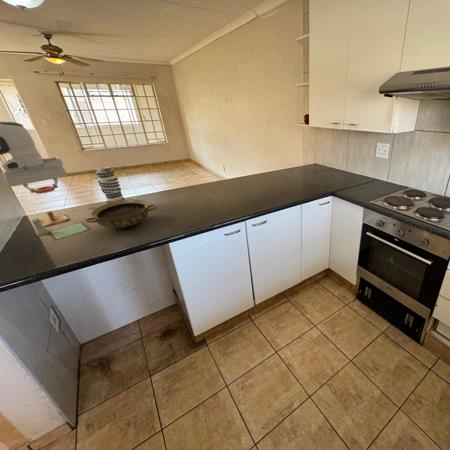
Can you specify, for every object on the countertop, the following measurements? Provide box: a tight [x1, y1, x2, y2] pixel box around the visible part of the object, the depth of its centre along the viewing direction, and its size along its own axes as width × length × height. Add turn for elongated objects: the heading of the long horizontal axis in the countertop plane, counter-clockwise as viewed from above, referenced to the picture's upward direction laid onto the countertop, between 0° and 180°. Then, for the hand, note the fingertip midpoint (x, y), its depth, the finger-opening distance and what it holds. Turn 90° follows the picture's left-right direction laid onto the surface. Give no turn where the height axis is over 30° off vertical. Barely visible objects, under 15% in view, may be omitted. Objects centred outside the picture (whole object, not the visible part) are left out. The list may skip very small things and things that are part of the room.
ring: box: [34, 185, 56, 195], centre depth 116 cm, size 7×7×1 cm
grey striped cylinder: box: [95, 166, 125, 204], centre depth 138 cm, size 9×9×25 cm
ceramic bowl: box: [84, 198, 157, 229], centre depth 124 cm, size 30×24×10 cm
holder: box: [40, 210, 69, 228], centre depth 129 cm, size 10×10×6 cm
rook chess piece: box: [30, 217, 50, 237], centre depth 117 cm, size 4×4×8 cm
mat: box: [50, 222, 89, 240], centre depth 121 cm, size 12×12×1 cm
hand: (44, 190), depth 116 cm, fingers closed on ring, 7 cm apart
